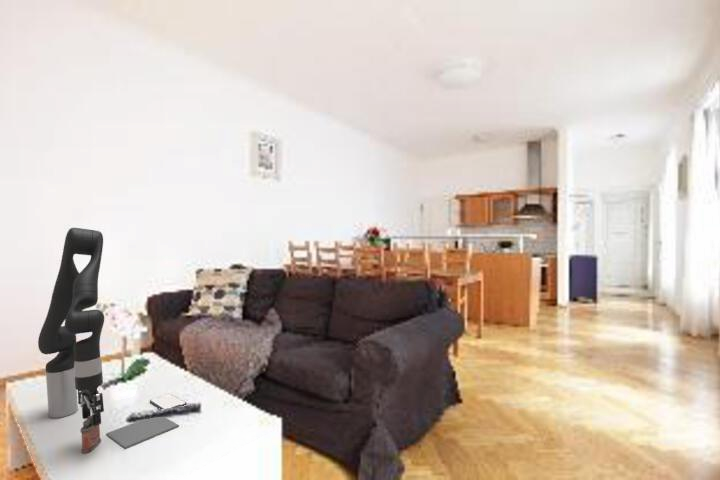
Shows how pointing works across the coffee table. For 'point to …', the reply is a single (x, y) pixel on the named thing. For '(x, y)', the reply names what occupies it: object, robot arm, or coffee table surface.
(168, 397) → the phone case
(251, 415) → the coffee table surface
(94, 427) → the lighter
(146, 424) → the rubber mat
